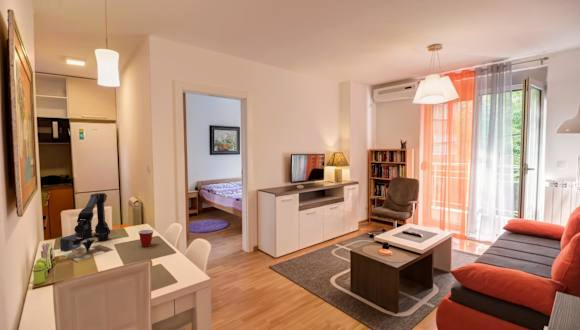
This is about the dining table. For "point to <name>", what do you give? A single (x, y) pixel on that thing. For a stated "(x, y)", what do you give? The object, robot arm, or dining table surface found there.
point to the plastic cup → (146, 237)
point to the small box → (68, 243)
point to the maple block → (78, 252)
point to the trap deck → (89, 252)
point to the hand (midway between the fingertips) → (87, 250)
